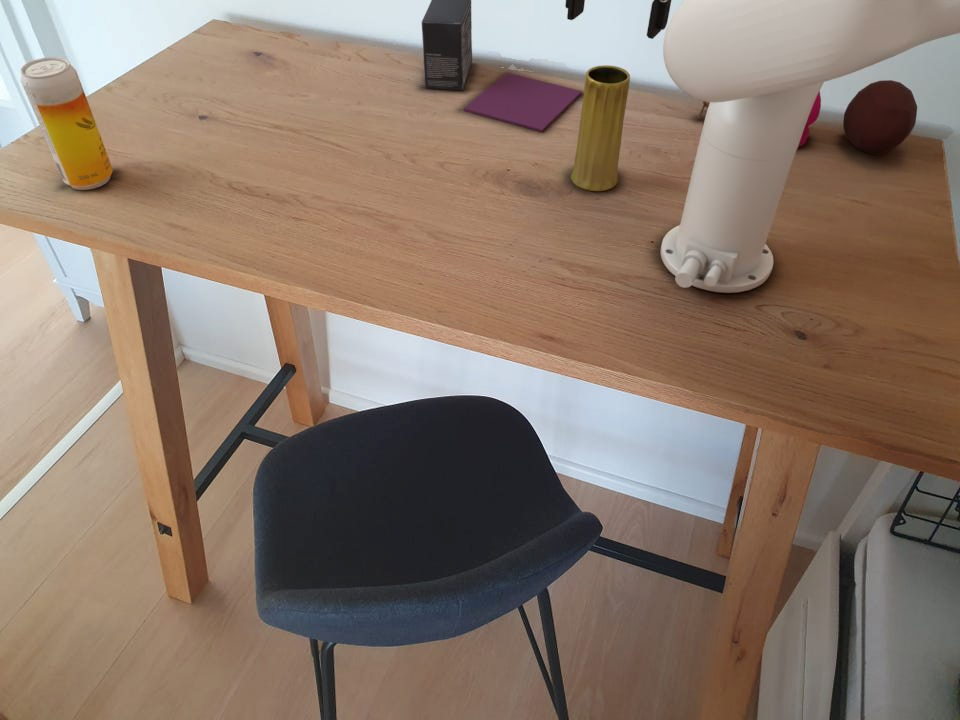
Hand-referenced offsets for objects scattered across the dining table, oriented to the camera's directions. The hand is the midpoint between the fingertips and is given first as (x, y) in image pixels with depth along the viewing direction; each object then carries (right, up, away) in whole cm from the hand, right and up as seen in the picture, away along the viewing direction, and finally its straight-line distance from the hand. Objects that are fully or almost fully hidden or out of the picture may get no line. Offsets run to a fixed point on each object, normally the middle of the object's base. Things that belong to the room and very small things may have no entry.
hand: (613, 24), depth 87 cm
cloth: (-9, +1, +29) cm, 30 cm away
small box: (-20, +7, +36) cm, 42 cm away
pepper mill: (+28, -7, +22) cm, 36 cm away
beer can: (-66, -15, +13) cm, 69 cm away
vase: (0, -15, +14) cm, 20 cm away
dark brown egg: (+39, -9, +21) cm, 45 cm away
